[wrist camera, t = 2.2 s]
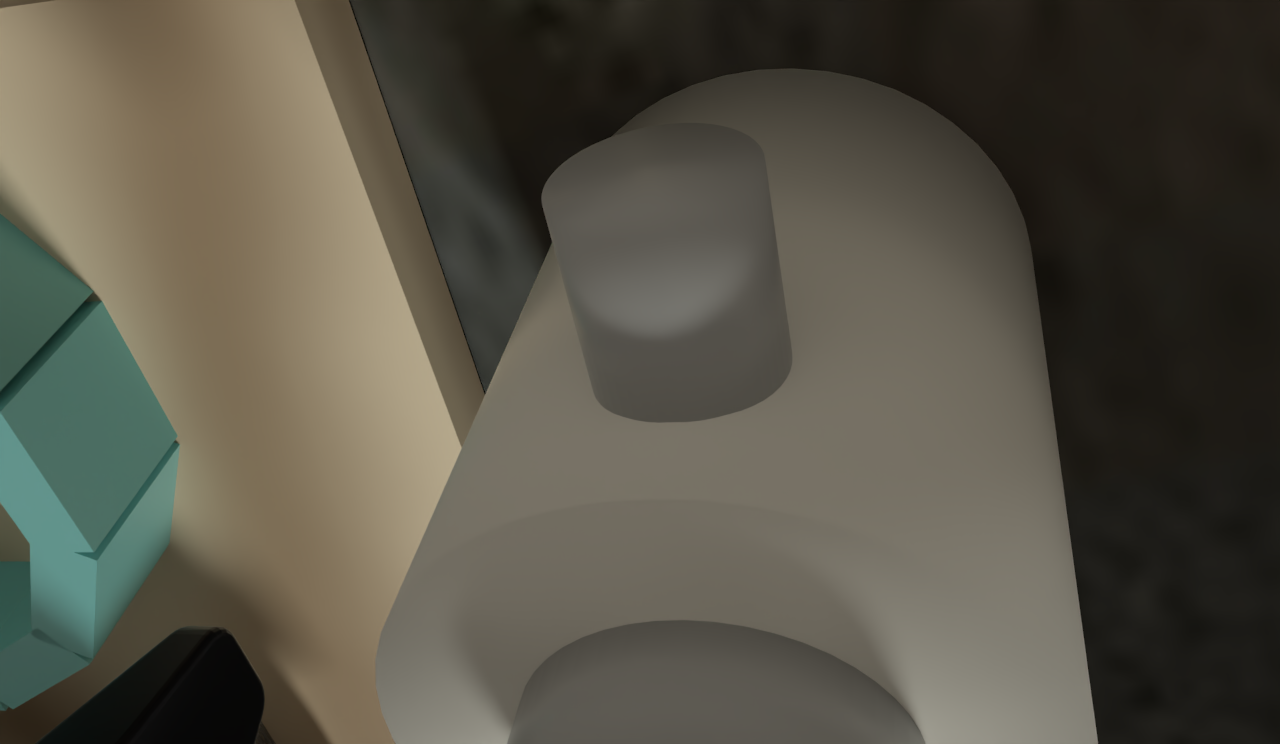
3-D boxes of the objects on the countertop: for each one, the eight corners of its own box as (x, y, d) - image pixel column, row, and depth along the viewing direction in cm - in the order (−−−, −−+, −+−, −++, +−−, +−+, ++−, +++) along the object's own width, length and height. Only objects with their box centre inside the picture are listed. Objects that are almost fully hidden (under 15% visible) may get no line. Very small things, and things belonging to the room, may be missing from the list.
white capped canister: (1037, -114, 10) (1172, 419, 5) (1030, 455, 14) (1099, 1097, 9) (474, -39, 11) (88, 445, 6) (611, 462, 15) (448, 1022, 10)
